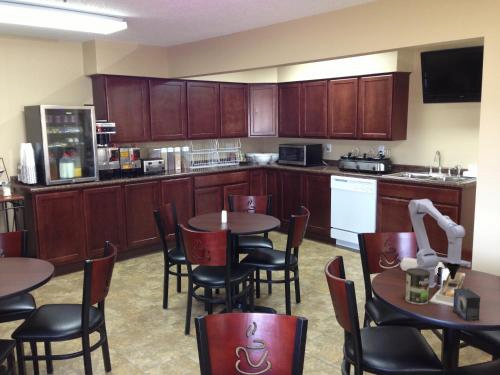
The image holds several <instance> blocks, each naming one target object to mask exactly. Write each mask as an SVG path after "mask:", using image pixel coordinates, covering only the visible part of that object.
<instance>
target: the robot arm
mask: <svg viewBox="0 0 500 375" xmlns="http://www.w3.org/2000/svg"><path fill="white" fill-rule="evenodd" d="M407 207H408V211H409V214H410V220H411V225H412V227H413V228H412V229H413V231H414V235H415V239H416V242H417V247H418V252H417V253H416V259H417V265H418V266H416V268H419V269H424V270H427V271H429V272H430V278H429V289H434V287H435V286H436V285H437V282H435V276H436V275H435V268H436V266H437V265H438V264H439V262H442V263H443V264H446V267H447V270H448V272H449V273H450V276H451V279H455V275H456V272H458V271H459V268H460V266H463V267H467V268H471V266H472V262H471V261H467V260H463V259H462V247H463V246H462V244H463V237H465V235H466V229H465V228H464V226H463V225H460V224H459V225H458V224H457V223H456V222H454V221H453V219H451V217H450V216H448V215H442V213H441V212H440V211H439V210H438V209H437V208H436V207H435V206H434V205H433V202H432V201H431V200H430V199H428V198H423V199H412V200H410V202H409V203H408V206H407ZM426 214H428V215H430V217H432V218H434V219H435V221H437V225H438V226H439V227H440V228H441V229H442V230H443V231H444V232H445V235H446V236H447V241H448V246H447V257H441V256H438V255H437V254H436V251H435V250H434V249H432V248H431V246H430V242H429V238H428V235H427V231H426V227H425V223H424V219H423V218H424V217H425V215H426Z"/></svg>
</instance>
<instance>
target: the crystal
mask: <svg viewBox="0 0 500 375" xmlns="http://www.w3.org/2000/svg"><path fill="white" fill-rule="evenodd" d="M399 265H400V266H399V267H400V269H401V270H402V271H405V272H406V270H407V269H410V268H416V266H418V265H417V258H413V257H404V256H403V259H402V260H401V262H400V263H399ZM439 267H442V268H445V269H446V266H445V265H444V262H439V264H438V265H437V266H436V268H435V276H438V275H437V273H438V268H439Z"/></svg>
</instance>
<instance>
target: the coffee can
mask: <svg viewBox="0 0 500 375" xmlns="http://www.w3.org/2000/svg"><path fill="white" fill-rule="evenodd" d="M405 272H406V276H405V278H406V280H405V299H404V300H405V301H406V302H407V303H409V304H413V305H419V306H421V305H427V304H428V303H429V290H430V288H429V278H430V272H429V271H427V270H424V269H419V268H410V269H407V270H406V271H405Z"/></svg>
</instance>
